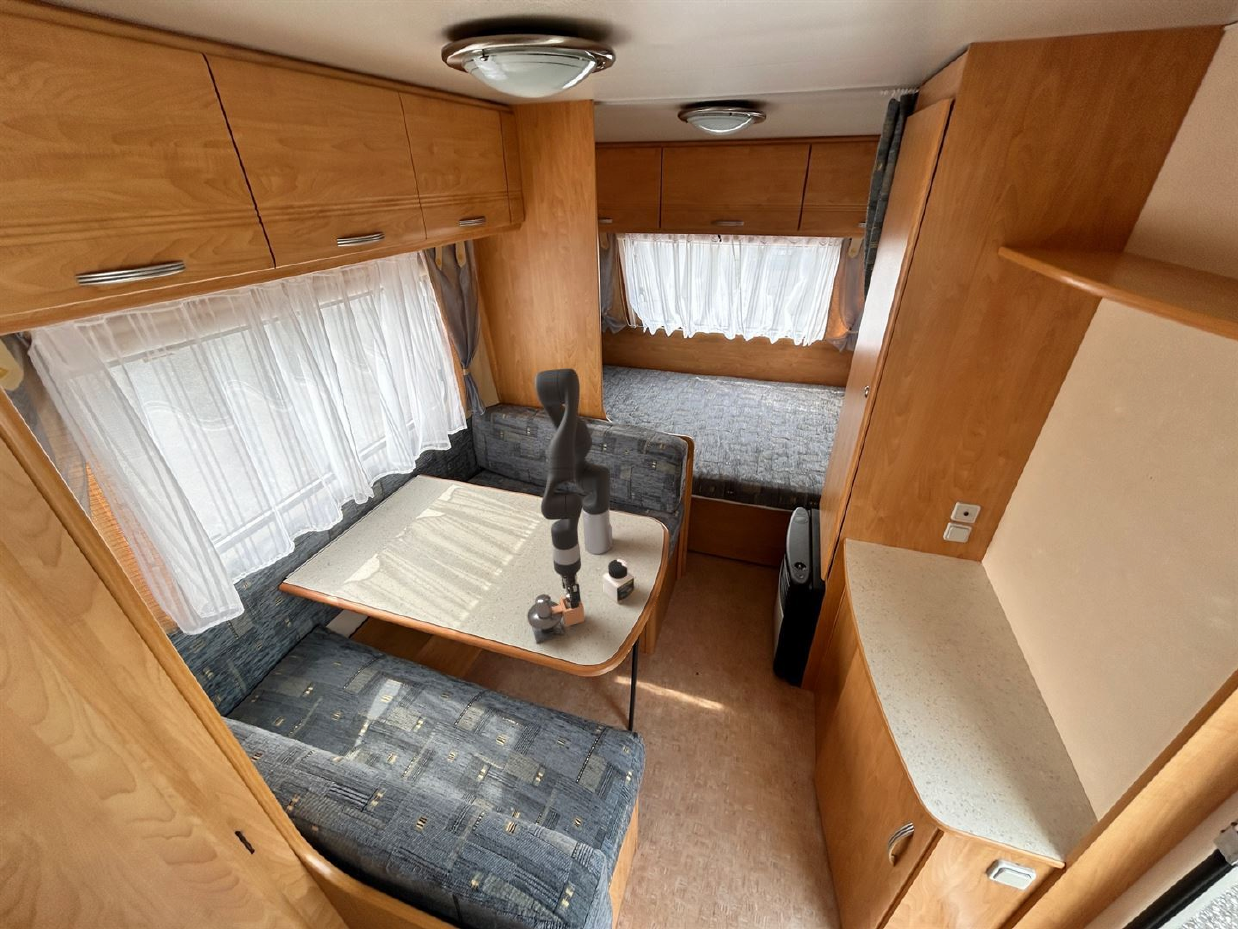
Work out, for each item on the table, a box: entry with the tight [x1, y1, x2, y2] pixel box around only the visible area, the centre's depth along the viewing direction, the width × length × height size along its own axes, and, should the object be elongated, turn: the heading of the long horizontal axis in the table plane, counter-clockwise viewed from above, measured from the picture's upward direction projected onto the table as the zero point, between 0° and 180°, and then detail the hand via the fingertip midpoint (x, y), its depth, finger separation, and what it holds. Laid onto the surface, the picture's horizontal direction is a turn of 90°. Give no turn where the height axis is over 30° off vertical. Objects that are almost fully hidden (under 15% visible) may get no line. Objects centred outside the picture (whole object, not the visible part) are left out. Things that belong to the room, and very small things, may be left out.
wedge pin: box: [565, 592, 578, 627], centre depth 151 cm, size 3×3×11 cm
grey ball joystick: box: [527, 594, 564, 644], centre depth 149 cm, size 10×10×12 cm
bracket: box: [552, 595, 585, 627], centre depth 151 cm, size 9×6×6 cm, turn 111°
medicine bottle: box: [602, 558, 635, 604], centre depth 161 cm, size 7×7×12 cm
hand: (570, 597), depth 149 cm, fingers open, 8 cm apart
